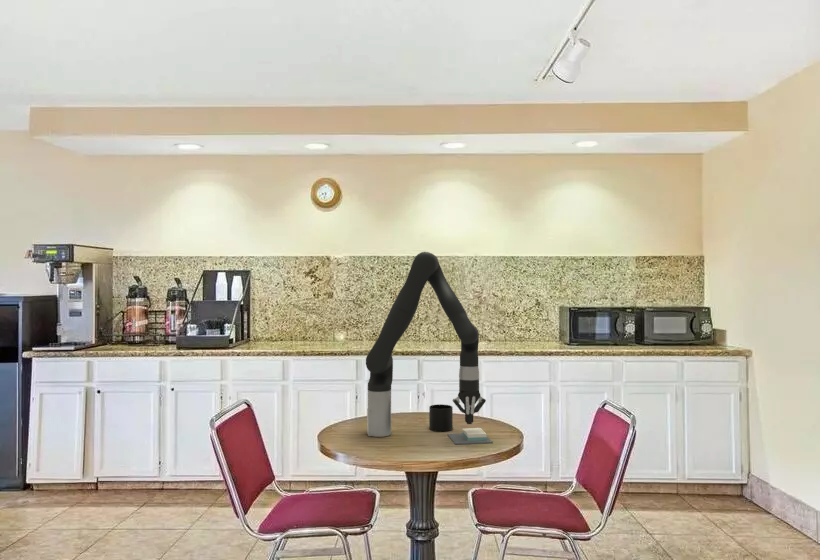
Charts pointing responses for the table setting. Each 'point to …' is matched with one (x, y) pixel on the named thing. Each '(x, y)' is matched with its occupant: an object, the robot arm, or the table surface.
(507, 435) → the table surface
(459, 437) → the mat
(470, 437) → the block
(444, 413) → the mug
